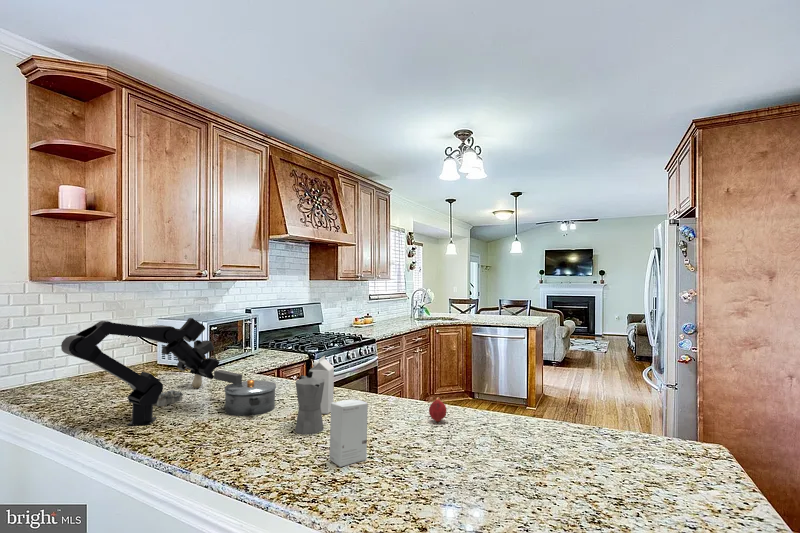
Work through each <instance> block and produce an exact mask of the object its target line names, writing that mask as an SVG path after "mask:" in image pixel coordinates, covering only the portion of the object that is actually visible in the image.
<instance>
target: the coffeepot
mask: <svg viewBox="0 0 800 533" xmlns="http://www.w3.org/2000/svg"><path fill="white" fill-rule="evenodd" d="M312 374H313V372H311V371H309V370H308V371H307V375H308V376H307V375H304V374H301V375H300V376H299V377H298V379H296V380H295V388H296V396H297V404H298V409H297V417H296V422H295V427H294V428H295V430H294V431H295V433H297V434H298V435H299V434H300V435H315V434H318V433H321V432H323V431H324V422H323V415H322V413H321V401H322V395H323V388H324V379H319V378H314V377H312Z"/></svg>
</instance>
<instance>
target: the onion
mask: <svg viewBox="0 0 800 533" xmlns="http://www.w3.org/2000/svg"><path fill="white" fill-rule="evenodd" d="M428 413H429V416H430V417H431V419H432V420H433V421H435V422H436V423H440V422H441V421H442V420H444V418H445V417H446V415H447V406H446V405H445V403H444V402H443V401H441V398H440V397H436V398H435V400H434V401H433V402H432V403H431V404H430V406H429V409H428Z"/></svg>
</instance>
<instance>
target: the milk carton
mask: <svg viewBox="0 0 800 533" xmlns="http://www.w3.org/2000/svg"><path fill="white" fill-rule="evenodd" d="M312 365H313V366H312V367H311V368H310V369H309V370H308V372H309V371H311V372H313V374H312V377H314V378H319V379H324V388H323V395H322V401H321V413H322V414H323V415H329V414H331V403H332V402H334V386H335V385H334V384H335V383H334V381H335V380H334V378H335V376H334V375H335V371H334V370H335V366H333V365H332V364H331V362H329V361H328V360H327V359H326V355H323V356H322V357H320V358H319V359H317V360H315V361H314V362H313V363H312Z"/></svg>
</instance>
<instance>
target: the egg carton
mask: <svg viewBox="0 0 800 533" xmlns="http://www.w3.org/2000/svg"><path fill="white" fill-rule="evenodd" d="M184 395H185V393H184V392H183V393H182V391H178V390H174V389H170V390H167V391H165V392H163V391H162V393H161V394H160V395H159V398H158V401H157V403H156V404H153V406H156V407H165V406H167V405H168V404H174V403H175V402H181V401H183V397H184Z"/></svg>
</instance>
